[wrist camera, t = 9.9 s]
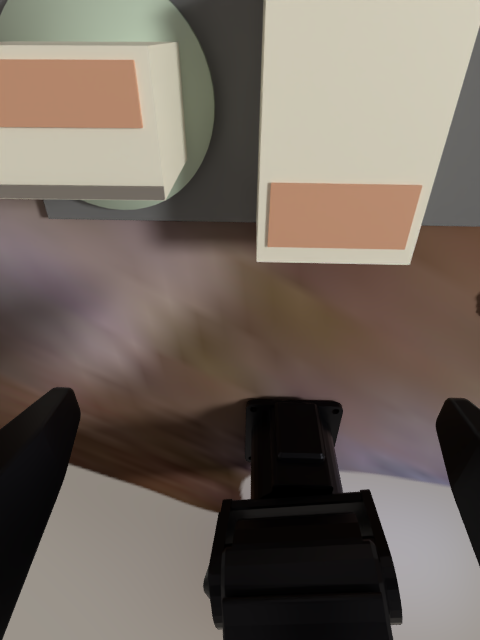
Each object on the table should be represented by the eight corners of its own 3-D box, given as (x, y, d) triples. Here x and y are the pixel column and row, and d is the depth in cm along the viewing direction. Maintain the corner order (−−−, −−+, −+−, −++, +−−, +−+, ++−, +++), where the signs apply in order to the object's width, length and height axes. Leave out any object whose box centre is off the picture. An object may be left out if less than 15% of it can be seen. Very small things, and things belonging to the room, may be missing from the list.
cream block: (187, 159, 16) (164, 201, 12) (44, 157, 17) (-25, 199, 12) (178, 41, 14) (147, 45, 10) (12, 41, 14) (-87, 45, 10)
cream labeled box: (382, 224, 19) (410, 266, 15) (256, 222, 19) (256, 263, 15) (441, -28, 13) (502, -47, 10) (264, -29, 13) (267, -48, 10)
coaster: (218, 205, 18) (216, 211, 18) (39, 202, 19) (32, 208, 18) (211, -37, 13) (209, -40, 13) (-32, -38, 14) (-47, -42, 13)
